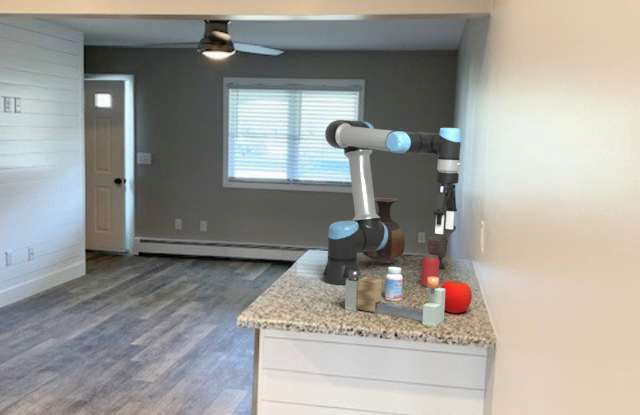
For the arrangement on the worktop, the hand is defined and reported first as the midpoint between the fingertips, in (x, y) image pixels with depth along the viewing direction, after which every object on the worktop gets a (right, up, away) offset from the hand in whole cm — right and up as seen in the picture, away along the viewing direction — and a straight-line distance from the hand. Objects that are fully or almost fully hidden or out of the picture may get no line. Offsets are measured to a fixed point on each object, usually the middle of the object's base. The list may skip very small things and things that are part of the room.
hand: (444, 231), depth 215 cm
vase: (-16, -18, +59) cm, 64 cm away
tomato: (0, -26, -15) cm, 30 cm away
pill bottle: (-18, -24, -1) cm, 30 cm away
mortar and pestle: (+10, -19, +56) cm, 60 cm away
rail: (-23, -26, -20) cm, 39 cm away
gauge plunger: (-10, -18, -30) cm, 36 cm away
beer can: (-2, -22, +20) cm, 30 cm away
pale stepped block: (-9, -27, -27) cm, 39 cm away
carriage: (-28, -25, -16) cm, 41 cm away
